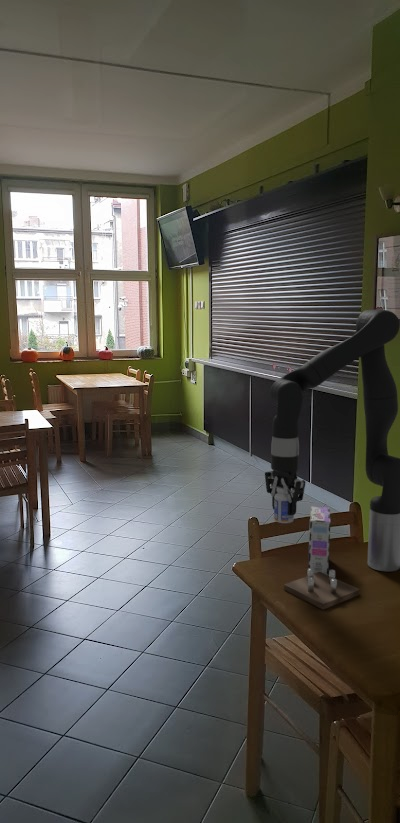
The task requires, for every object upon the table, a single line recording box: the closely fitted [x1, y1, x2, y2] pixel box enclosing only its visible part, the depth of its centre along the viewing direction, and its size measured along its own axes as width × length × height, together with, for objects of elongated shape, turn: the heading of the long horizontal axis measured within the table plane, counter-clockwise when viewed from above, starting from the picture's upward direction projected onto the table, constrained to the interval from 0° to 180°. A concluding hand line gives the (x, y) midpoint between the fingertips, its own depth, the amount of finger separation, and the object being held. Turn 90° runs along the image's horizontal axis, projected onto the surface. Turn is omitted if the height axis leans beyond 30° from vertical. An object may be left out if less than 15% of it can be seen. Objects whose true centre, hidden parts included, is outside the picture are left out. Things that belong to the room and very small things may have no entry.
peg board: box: [283, 572, 360, 611], centre depth 160 cm, size 14×14×2 cm
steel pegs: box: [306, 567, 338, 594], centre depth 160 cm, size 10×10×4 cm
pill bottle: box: [273, 486, 295, 524], centre depth 166 cm, size 5×5×10 cm
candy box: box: [308, 506, 331, 576], centre depth 176 cm, size 14×6×16 cm, turn 168°
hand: (283, 511), depth 167 cm, fingers closed on pill bottle, 5 cm apart
